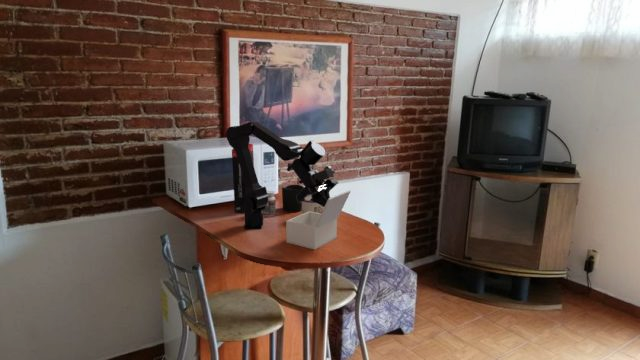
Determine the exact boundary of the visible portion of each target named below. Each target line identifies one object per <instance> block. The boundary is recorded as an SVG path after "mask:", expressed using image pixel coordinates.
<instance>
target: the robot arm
mask: <svg viewBox="0 0 640 360" xmlns="http://www.w3.org/2000/svg"><path fill="white" fill-rule="evenodd" d="M251 135H253V136H254V137H256V138H257V139H259V140H260V141H262V142H263V143H265V144H266V145H268V146H269V147H271V148H272V149H273V150H274V152H275V154H276V156H277V157H279V158H280V160H282V161H284V162H288V161H292V160H293V161H292V162H288V163H287V167H286V171H287V172H291V171H293V172H294V173H295V175H296V176H297V178H298V179H299V181H298V182H299V183H298V184H299V185H303V187H304V188H303V189H302V190H301V191H300V192H299V193H298V194H297V195H296V199H297V200H298V202H299V203H301V202H303V201H305V197H307V196H309V195H311V197H312V198H311V199H310V201H313V202H315V203H317V204H320V205H321V206H323V207H325V205H326V203H327V201H328V198H331V197H330V191H331V190H332V189H334V188H335V187H336V186H337V185H338V184H339V181H338V180H337V179H336V177H335V176H334V174H335V170H334V168H333V167H332V166H331V165H327V166H325V167H324V169H323V170H320V171H319V170H317V169H313V168H312V166H315V165H316V164H317V163H318V162H319V161H320V160H321V159H323V157H324V156H325V155H326V150H325V148H324V146H322V145H321V144H320V143H317V142H316V141H315V140H314V139H313V140H308V142H307V144H306V145H305V146H304V147H303V146H300V145H299V144H298V143H297V142H295V141H292V140H289V139H284V138H282V137H280V136H279V135H277V134H276V133H275V132H273V131H272V130H270V129H268V128H267V127H265V126H264V125H262V124H261V123H260V122H259V121H256V120H254V121H248V122H247V123H243V124H241V125H234V126H229V127H227V129H226V131H225V138H226V139H227V142H228V145H229V146H230V147H231V148H232V149H234V150H235V151H236V155H237V158H238V161H239V165H240V168H241V172H242V175H243V178H244V182H245V185H246V190H245V195H244V196H245V202H244V203H243V204H242V205H241V207H240V210H241V212H242V214H244V227H243V229H246V230H250V229H251V230H252V229H253V230H255V229H256V230H257V229H259V230H260V229H263V228H262V227H263V226H264V216H263V214H262V210H264V209H265V207H266V204H267V202H268V197H269V196H268V194H267V191H268V190H267V187H266V186H261V184H260V183H259V180H258V177H257V174H256V173H257V172H256V169H255V165H254V166H253V162H252V159H251V155H250V152H249V149H248V146H249V144H250V136H251Z"/></svg>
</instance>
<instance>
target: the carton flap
mask: <svg viewBox="0 0 640 360" xmlns="http://www.w3.org/2000/svg"><path fill="white" fill-rule="evenodd" d="M350 194H351V190H350V189H348V190H346V191H343V192H341V193H339V194H337V195H334V196H331V197H330V198H328V201H327V203H326V205H325V207H324V209H323V212H322V214H321V216H320V218H319V220H318V223H317V225H316V228H318V227H320V226H322V225H324V224H326V223H328V222H330V221H333V220H335V219H337V220H338V218H339V217H340V214H341V212H342V211H343V208H344V206H345V205H346V202H347V200H348V198H349V195H350Z"/></svg>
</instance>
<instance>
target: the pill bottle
mask: <svg viewBox="0 0 640 360" xmlns="http://www.w3.org/2000/svg"><path fill="white" fill-rule="evenodd" d="M267 194H268V196H269V197H268V202H267V204H266V207H265V209H264V210H262V214H263V217H267V218H270V217H275V216H276V213H277V211H276V197H275V191H274V190H267Z"/></svg>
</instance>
